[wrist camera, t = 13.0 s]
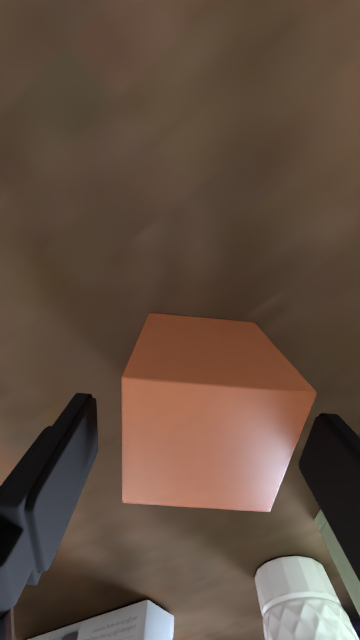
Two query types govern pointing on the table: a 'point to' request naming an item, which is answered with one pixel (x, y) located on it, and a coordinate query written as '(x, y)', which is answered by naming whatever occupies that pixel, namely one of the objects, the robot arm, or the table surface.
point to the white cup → (300, 602)
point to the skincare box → (120, 625)
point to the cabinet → (339, 559)
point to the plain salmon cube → (208, 415)
